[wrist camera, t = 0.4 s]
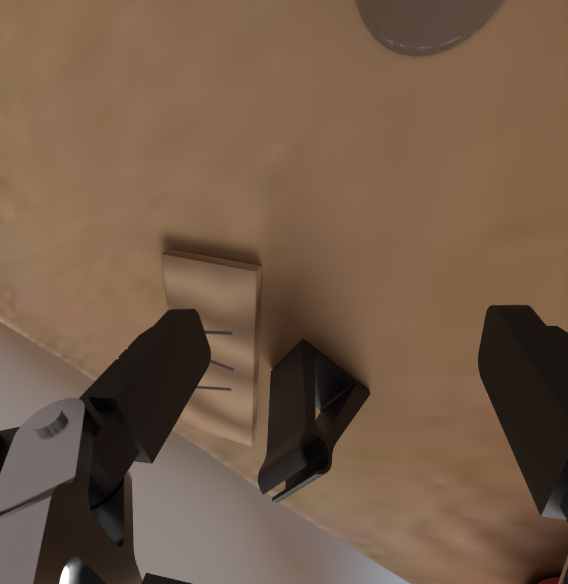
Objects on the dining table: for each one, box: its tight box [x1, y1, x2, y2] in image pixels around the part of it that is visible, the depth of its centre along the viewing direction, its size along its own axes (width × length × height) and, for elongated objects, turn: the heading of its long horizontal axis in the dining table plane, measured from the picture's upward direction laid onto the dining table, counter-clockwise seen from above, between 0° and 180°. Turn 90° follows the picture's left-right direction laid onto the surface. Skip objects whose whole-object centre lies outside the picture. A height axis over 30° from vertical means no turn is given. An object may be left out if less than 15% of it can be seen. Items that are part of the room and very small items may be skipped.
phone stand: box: [258, 339, 370, 502], centre depth 29 cm, size 9×6×12 cm, turn 55°
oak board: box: [162, 250, 262, 447], centre depth 36 cm, size 24×10×2 cm, turn 176°
